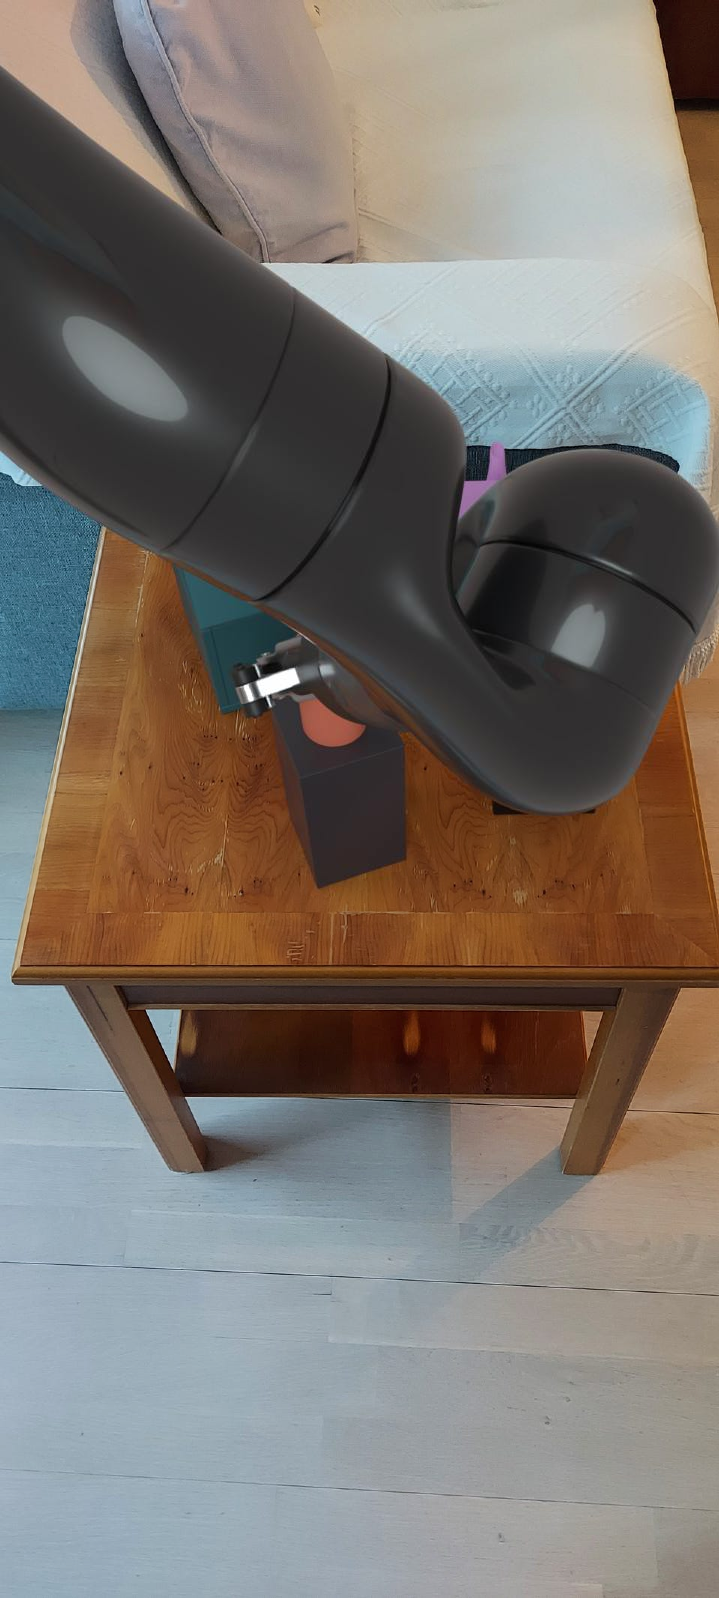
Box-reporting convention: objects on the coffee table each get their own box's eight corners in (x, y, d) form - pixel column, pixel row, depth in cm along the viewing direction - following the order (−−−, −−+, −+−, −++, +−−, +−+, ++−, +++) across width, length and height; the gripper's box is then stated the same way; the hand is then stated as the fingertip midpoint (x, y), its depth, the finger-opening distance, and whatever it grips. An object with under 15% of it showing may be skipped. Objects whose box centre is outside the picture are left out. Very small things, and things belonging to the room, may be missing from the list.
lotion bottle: (314, 755, 63) (301, 665, 56) (294, 707, 65) (279, 615, 58) (376, 735, 64) (371, 644, 57) (354, 689, 66) (347, 595, 59)
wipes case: (183, 606, 91) (160, 521, 83) (304, 572, 93) (293, 485, 85) (221, 714, 83) (201, 632, 75) (352, 675, 85) (346, 591, 77)
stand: (317, 889, 74) (299, 778, 62) (289, 815, 77) (267, 698, 66) (406, 859, 75) (404, 745, 63) (374, 788, 78) (367, 668, 67)
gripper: (514, 518, 46) (404, 557, 62) (223, 621, 43) (186, 634, 59) (560, 672, 48) (441, 672, 64) (282, 781, 45) (230, 752, 61)
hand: (318, 654), depth 61 cm, fingers open, 6 cm apart
